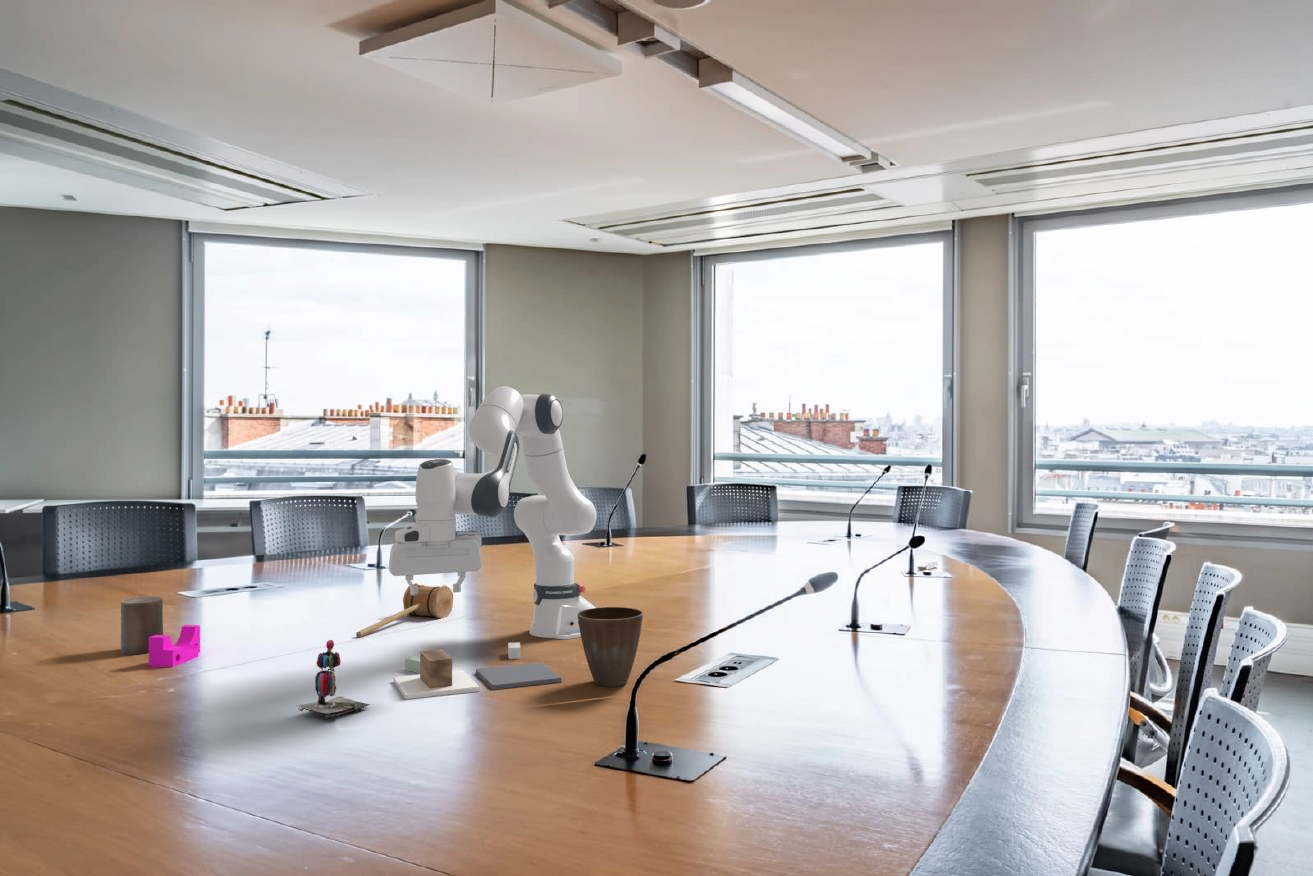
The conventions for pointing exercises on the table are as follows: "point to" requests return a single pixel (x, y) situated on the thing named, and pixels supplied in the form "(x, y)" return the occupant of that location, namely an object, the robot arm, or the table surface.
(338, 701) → the statue
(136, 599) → the pillar candle
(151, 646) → the magenta cradle bracket
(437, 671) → the walnut brick
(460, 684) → the off-white mat
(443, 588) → the mallet
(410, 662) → the sage brick
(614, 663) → the plant pot
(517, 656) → the pale grey brick
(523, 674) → the charcoal mat
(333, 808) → the table surface
